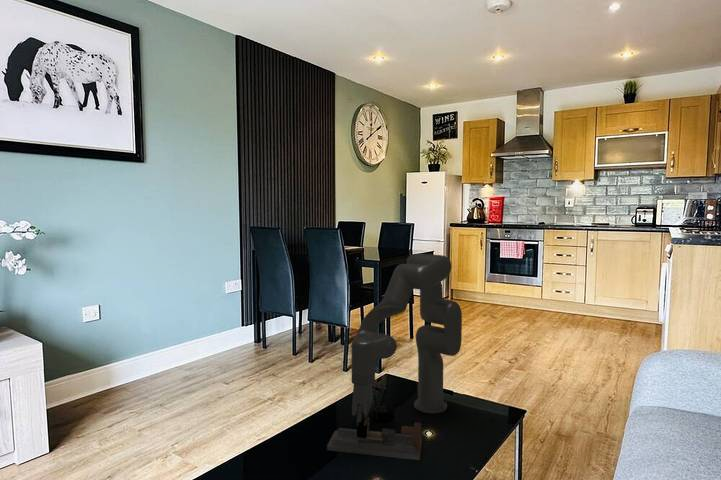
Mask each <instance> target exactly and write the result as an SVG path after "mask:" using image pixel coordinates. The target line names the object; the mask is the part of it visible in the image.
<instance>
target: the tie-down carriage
mask: <svg viewBox="0 0 721 480" xmlns="http://www.w3.org/2000/svg"><path fill="white" fill-rule="evenodd" d="M369 418H370V417H366V425H367V437H366V438H364V437H357V440H358V441H367V442H377V443H384V439H385V437H394V435H395V433H396V429H392V428H381V429H382V430H381V431H376V432H372V431H373V430H369ZM362 419H363V420H364V418H362Z"/></svg>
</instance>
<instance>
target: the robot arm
mask: <svg viewBox="0 0 721 480" xmlns="http://www.w3.org/2000/svg"><path fill="white" fill-rule="evenodd" d="M451 272H452V261H451V260H450V259H449V257H447V256H446V255H441V254H431V253H412V254H410V255H409V256H408V257H407V258H406V263H400V264H398V265H397V266H396V267H395V268H394V270H393V272H392V276H391V278H390V280H389V283H388V285H387V288H386V290H385V293H384V296H383V298H382V300H381V301H380V302H379V303H378V304H377V305H376V306H374V307H373V308H372V309H371V310H370V311H369V312H367V314H366V315H365V316H364V317H363V319H362V321H361V324H360V325H359V328H358V331H357V333H356V337H355V338H354V339H353V340H352V341H351V346H350V347H351V353H350V355H351V383H352V385H353V389H352V401H351V402H352V405H351V406H352V407H351V415H352V416H353V417H356V430H357V437H364V438H366V437H367V425H366V417H369V431H371V417H370V416H371V415H370V414H371V412H370V411H371V408H372V406H373V385H374V384H375V383H376V360H385V359H389V358H391V357H393V355H394V354H395V353H396V350H397V347H398V345H397V341H396V340H395V338H394V337H392V336H390V335H388V334H385V333H381V332H377V331H375V330H377V329H376V328H378V326H379V324H381V322H383V321H384V320H386V319H388V318H391V317H393V316H396V315H399V314H401V313H403V312H405V311H406V310H407V307H408V305H409V301H410V298H411V296H412V293H413V292H414V290H419V315H420V318H421V319H422V320H423V321H425V322H427V323H431V325H430V324H424V325H422V326H420V327H418V329H417V330H416V334H415V343H416V348H417V365H418V367H417V369H418V370H417V371H418V372H417V375H418V376H417V378H418V379H417V395H418V396H417V399H415V400H414V402H413V407H414V409H416V410H417V411H419V412H421V413H424V414H440V413H444V412H446V410H447V409H448V404H447V403H448V402H446V401H445V400H444V359H443V357H442V355H444V356H450V357H453V356H454V357H455V356H457V355H458V354H459V352H460V351H461V347H462V341H463V340H462V339H463V338H462V335H463V334H462V333H463V330H462V329H463V328H462V327H463V324H462V323H463V316H462V315H463V313H462V309H461V306H460V304H459V303H458V302H456V301H455V300H451V299H444V297H443V296H444V295H443V283H442V282H443V281H444V280H445V279H447V278H448V277H449V276H450V274H451ZM432 324H435V325H432ZM437 325H441V326H443V327H441V326H437ZM362 418H364V420H363V419H362Z"/></svg>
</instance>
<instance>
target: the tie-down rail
mask: <svg viewBox="0 0 721 480" xmlns="http://www.w3.org/2000/svg"><path fill="white" fill-rule="evenodd" d="M371 431H372V432H377V430H376V431H375V430H371ZM331 435H332V436H331V437H330V439H329V442H328V443H327V445H326V451H331V452H340V453H348V454H349V453H350V454H351V453H352V454H360V455H367V456H377V457H385V458H395V459H405V460H412V461H420V460H421V452H422V451H421V450H422V445H423V440H422V423H421V422H414V425H413V426H409V425H401V429H400V433H396V432H395V435H394V437H385V439H384V443H377V442H367V441H358V440H357V428H356V429H353V428H343V427H338V429H336V430H334V432H333V434H331Z"/></svg>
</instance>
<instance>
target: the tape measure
mask: <svg viewBox="0 0 721 480" xmlns="http://www.w3.org/2000/svg"><path fill="white" fill-rule="evenodd" d="M394 415H395V413H394V411H392V410H391V409H390V408H389V407H388V406H387V404H386V405H378V406H375V407H374V408H373V410H372V416H373V419H374V420H376V421H378V422H387V421H390V420H392V419H393V420H394Z"/></svg>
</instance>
